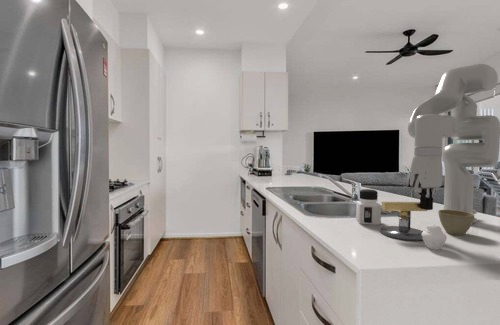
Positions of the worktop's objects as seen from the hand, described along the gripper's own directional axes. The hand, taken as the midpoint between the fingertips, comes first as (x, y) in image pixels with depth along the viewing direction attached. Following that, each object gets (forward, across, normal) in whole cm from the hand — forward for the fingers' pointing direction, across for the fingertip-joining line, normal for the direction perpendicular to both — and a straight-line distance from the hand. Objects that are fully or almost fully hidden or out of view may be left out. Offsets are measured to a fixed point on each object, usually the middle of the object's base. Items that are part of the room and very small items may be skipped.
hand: (426, 209), depth 90 cm
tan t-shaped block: (+3, +4, -5) cm, 7 cm away
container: (+10, +2, -22) cm, 24 cm away
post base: (+9, +4, -5) cm, 11 cm away
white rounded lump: (+10, +8, +8) cm, 15 cm away
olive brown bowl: (+10, -14, +1) cm, 17 cm away
